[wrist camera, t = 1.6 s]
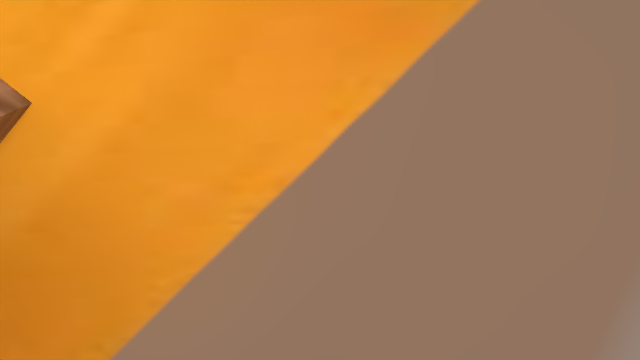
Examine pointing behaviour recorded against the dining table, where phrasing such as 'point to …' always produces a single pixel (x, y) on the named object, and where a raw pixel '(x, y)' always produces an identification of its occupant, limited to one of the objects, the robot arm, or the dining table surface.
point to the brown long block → (10, 108)
